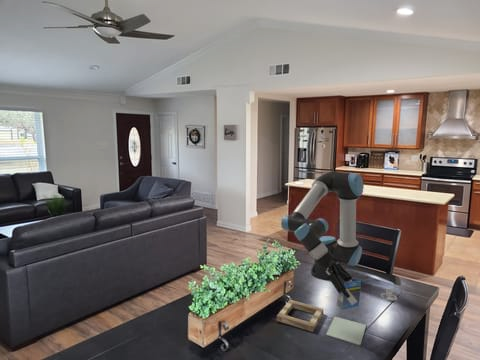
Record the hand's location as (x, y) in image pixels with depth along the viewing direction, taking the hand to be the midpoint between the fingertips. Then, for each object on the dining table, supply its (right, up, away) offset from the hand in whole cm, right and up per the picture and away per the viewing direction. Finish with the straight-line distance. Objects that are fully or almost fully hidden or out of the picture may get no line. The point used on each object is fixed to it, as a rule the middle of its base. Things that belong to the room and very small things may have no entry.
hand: (356, 298), depth 144 cm
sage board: (-3, -16, +4) cm, 16 cm away
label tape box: (-3, -5, +2) cm, 6 cm away
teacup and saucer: (+26, -12, +34) cm, 45 cm away
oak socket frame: (-21, -14, +14) cm, 29 cm away
